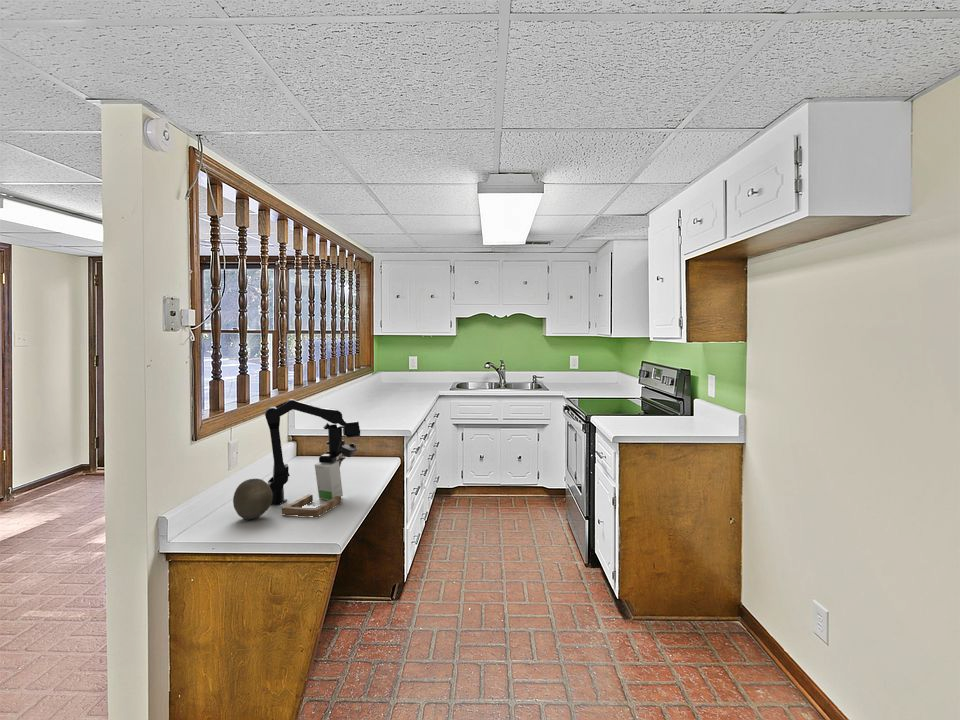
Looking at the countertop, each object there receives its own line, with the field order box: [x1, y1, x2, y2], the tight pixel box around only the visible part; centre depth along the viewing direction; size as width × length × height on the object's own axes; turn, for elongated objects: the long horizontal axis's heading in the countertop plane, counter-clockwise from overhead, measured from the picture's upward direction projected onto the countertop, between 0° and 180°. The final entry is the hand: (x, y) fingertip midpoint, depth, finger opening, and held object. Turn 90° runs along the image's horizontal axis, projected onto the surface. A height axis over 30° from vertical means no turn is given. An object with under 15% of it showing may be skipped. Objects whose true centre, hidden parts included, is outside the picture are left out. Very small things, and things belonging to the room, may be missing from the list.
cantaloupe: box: [232, 478, 273, 520], centre depth 232 cm, size 14×14×15 cm
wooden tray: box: [281, 493, 342, 518], centre depth 243 cm, size 20×15×3 cm
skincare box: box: [314, 461, 344, 501], centre depth 256 cm, size 8×7×16 cm
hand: (336, 475), depth 262 cm, fingers closed
